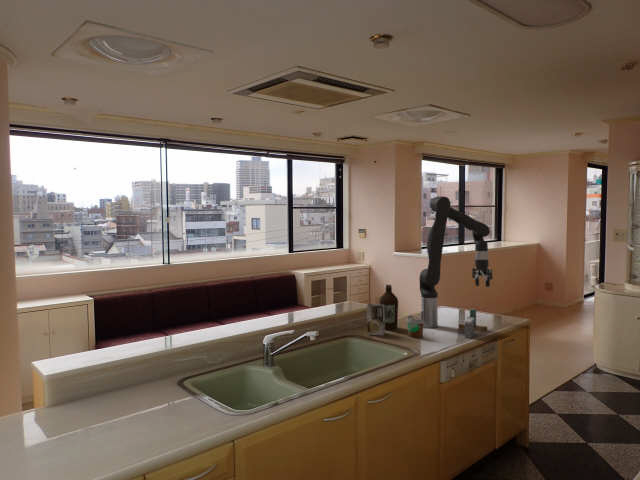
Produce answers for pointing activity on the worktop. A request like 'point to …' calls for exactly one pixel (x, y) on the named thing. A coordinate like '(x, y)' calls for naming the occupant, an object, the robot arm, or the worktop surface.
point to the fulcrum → (469, 327)
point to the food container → (415, 327)
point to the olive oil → (390, 308)
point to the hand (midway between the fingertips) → (482, 286)
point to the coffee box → (375, 319)
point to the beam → (477, 328)
